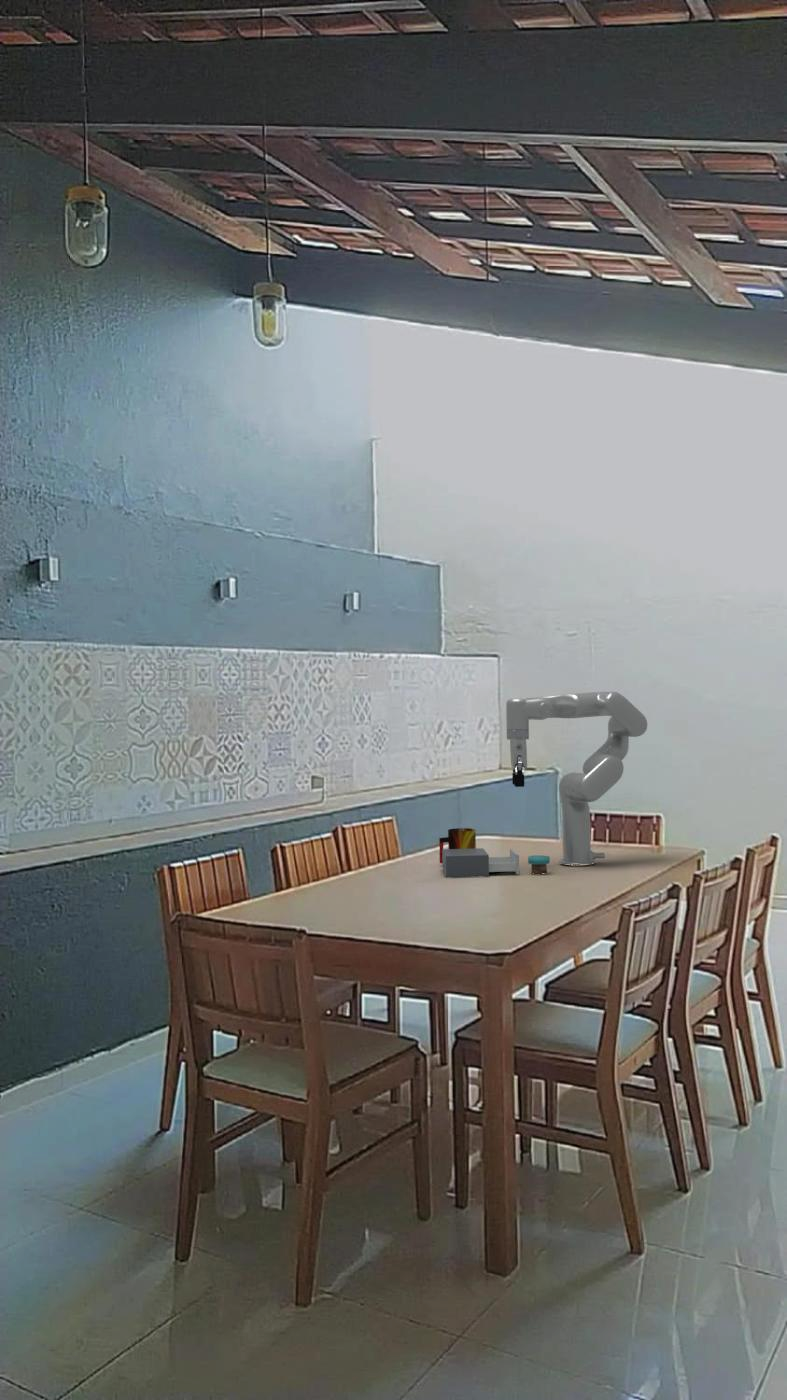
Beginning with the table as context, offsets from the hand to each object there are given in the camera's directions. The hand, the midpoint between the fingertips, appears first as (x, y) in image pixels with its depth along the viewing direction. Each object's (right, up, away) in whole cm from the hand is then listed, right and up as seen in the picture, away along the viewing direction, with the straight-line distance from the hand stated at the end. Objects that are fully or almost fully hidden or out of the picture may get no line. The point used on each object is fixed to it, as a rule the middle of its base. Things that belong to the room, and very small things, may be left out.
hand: (518, 785), depth 393 cm
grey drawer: (-8, -28, -5) cm, 30 cm away
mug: (-19, -29, +15) cm, 38 cm away
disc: (+6, -25, -10) cm, 27 cm away
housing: (-18, -29, -5) cm, 35 cm away
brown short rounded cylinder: (+6, -28, -10) cm, 31 cm away
